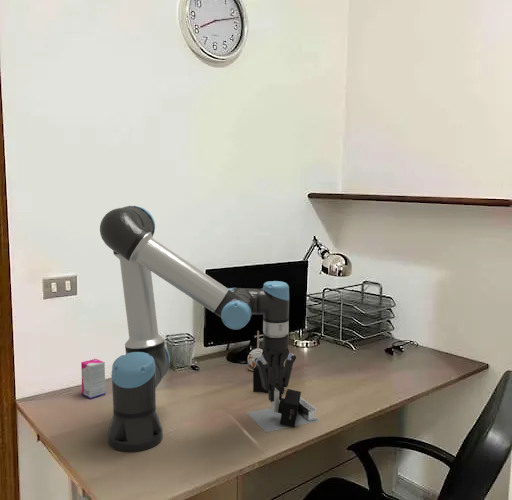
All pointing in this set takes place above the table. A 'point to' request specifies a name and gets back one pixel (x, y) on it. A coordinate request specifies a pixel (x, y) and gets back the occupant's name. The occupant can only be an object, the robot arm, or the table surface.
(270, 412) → the mounting plate
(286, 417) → the digital camera
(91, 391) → the supplement box
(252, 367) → the decorative ornament
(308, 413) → the rail
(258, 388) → the electronic device
